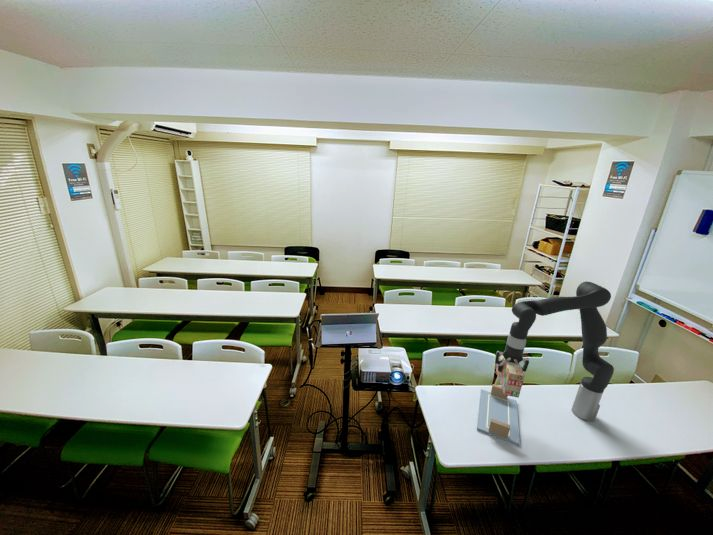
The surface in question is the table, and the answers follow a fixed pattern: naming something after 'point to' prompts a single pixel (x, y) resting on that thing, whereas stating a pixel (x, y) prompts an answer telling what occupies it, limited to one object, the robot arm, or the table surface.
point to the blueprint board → (498, 415)
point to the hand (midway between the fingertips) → (508, 373)
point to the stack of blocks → (510, 378)
